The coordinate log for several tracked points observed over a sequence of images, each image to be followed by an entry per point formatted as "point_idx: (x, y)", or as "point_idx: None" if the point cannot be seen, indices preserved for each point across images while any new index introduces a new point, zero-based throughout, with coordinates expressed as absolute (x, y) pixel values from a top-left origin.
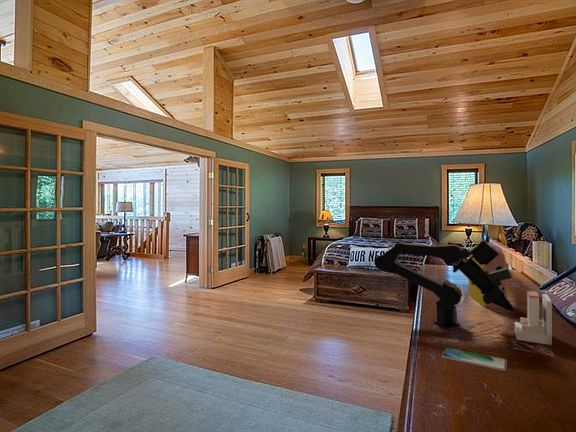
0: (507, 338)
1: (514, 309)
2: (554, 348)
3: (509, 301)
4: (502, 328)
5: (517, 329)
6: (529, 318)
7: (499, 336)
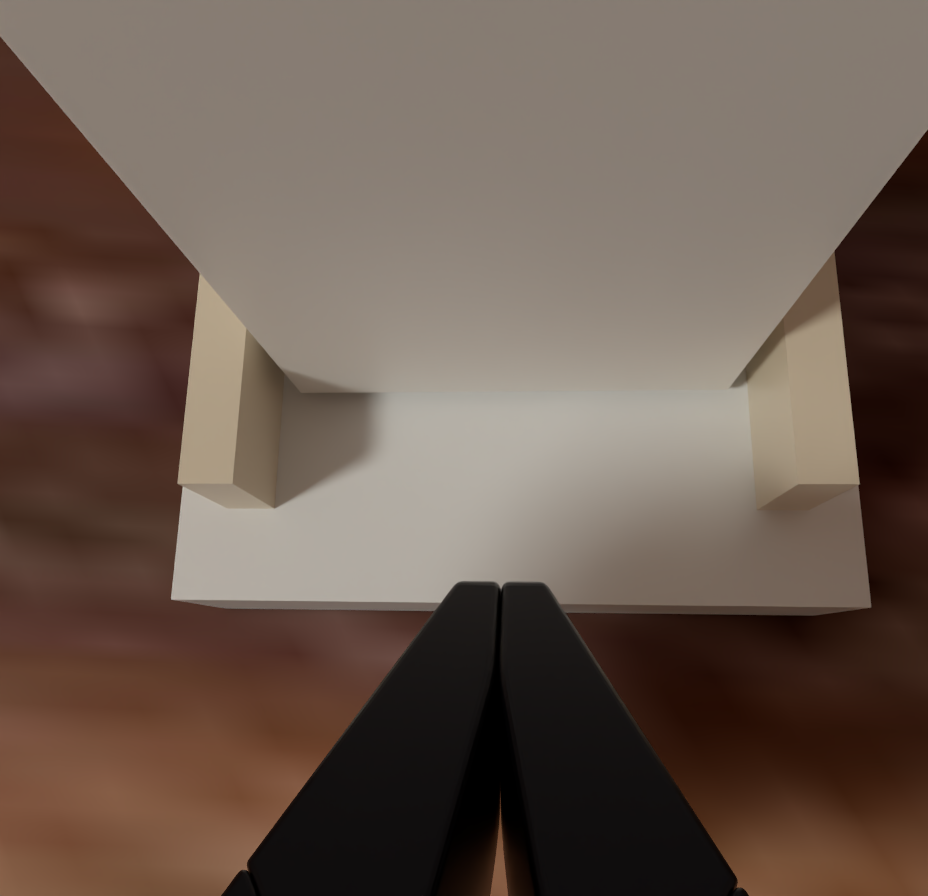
0: (834, 754)
1: (556, 599)
2: (907, 171)
3: (331, 797)
4: (263, 810)
5: (706, 581)
6: (805, 279)
7: (799, 887)
